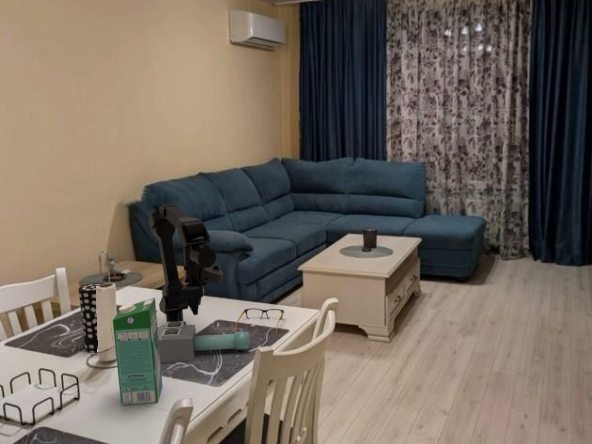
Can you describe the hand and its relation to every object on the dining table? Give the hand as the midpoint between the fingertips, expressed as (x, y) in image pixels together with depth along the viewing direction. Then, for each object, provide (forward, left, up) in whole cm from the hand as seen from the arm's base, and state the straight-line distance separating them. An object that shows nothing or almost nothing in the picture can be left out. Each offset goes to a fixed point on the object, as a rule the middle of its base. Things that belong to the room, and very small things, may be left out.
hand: (197, 309), depth 175 cm
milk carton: (+30, -12, -12) cm, 35 cm away
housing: (+5, -7, -12) cm, 15 cm away
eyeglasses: (-15, +19, -13) cm, 27 cm away
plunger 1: (+2, -7, -5) cm, 9 cm away
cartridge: (+5, +5, -12) cm, 14 cm away
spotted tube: (-4, -32, -12) cm, 34 cm away
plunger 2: (+8, -7, -5) cm, 12 cm away
